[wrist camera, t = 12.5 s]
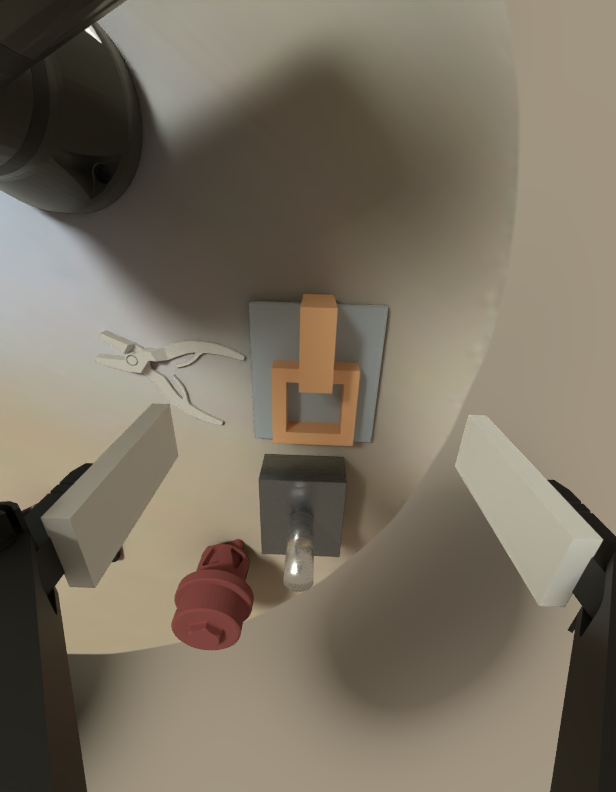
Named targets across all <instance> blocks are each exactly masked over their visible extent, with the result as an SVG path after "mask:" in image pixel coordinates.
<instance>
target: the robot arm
mask: <svg viewBox="0 0 616 792" xmlns="http://www.w3.org/2000/svg"><path fill="white" fill-rule="evenodd" d="M125 1H126V0H0V190H1V191H3V192H5V193H7V194H8V195H10V196H12V197H14V198H16V199H18V200H19V201H22V202H24V203H26V204H28V205H31V206H34V207H37V208H40V209H43V210H48V211H53V212H62V213H73V214H83V213H90V212H94V211H98V210H100V209H103V208H105V207H107V206H109V205H110V204H112V203H113V202H114V201H116V200H117V199H118V198H119V197H120V196H121V195H122V194H123V193H124V192H125V190H126V189H127V188H128V186H129V185H130V183H131V181H132V179H133V177H134V175H135V173H136V170H137V167H138V164H139V160H140V155H141V148H142V119H141V112H140V106H139V102H138V97H137V94H136V90H135V87H134V84H133V81H132V79H131V76H130V74H129V71H128V69H127V67H126V65H125V63H124V61H123V59H122V57H121V55H120V53H119V52H118V50H117V49H116V47H115V45H114V44H113V42H112V41H111V39H110V38H109V37H108V35H107V34H106V33H105V31H104V30H103V29H102V28H101V27H100V25H99V24H98V23H97V21H98V20H99V19H101V18H102V17H104V16H105V15H106V14H108V13H109V12H111V11H112V10H113V9H115V8H116V7H118V6H119V5H121V4H122V3H123V2H125ZM177 457H178V451H177V445H176V439H175V433H174V427H173V421H172V415H171V409H170V404H151V405H150V407H149V408H148V409H147V410H146V411H145V412H144V413H143V414H142V415H141V416H140V417H139V418H138V419H137V420H136V421H135V422H134V423H133V424H132V425H131V426H130V427H129V428H128V429H127V430H126V431H125V432H124V433H123V434H122V435H121V436H120V437H119V438H118V439H117V440H116V441H115V442H114V443H113V444H112V445H111V446H110V447H109V448H108V449H107V450H106V451H105V452H104V453H103V454H102V456H101V457H100V458H99V459H98V460H97V461H96V462H95V463H94V464H92V463H85V464H84V465H82V466H80V467H78V468H77V469H75V470H73V471H72V472H70V473H69V474H68V475H67V476H66V477H65V478H64V479H63V480H62V481H61V482H60V484H59V485H57V486H56V487H55V488H54V489H53V490H51V493H50V494H47V495H46V496H45V497H44V498H43V499H42V500H41V501H40V502H39V503H38V504H37V505H36V506H35V507H34V508H33V509H32V510H31V511H30V512H29V513H28V514H26V515H25V516H23V514H22V512H21V510H20V508H19V506H18V504H17V503H14V502H11V501H8V502H0V792H87V787H86V780H85V774H84V767H83V760H82V753H81V747H80V740H79V733H78V726H77V719H76V712H75V705H74V699H73V692H72V685H71V678H70V671H69V664H68V658H67V651H66V644H65V637H64V630H63V623H62V617H61V610H60V603H59V596H58V592H57V589H56V587H55V585H56V584H57V582H58V581H59V580H60V578H61V577H62V576H63V574H64V575H65V577H66V579H67V582H68V584H69V586H70V587H86V588H96V586H97V584H98V583H99V581H100V580H101V578H102V576H103V575H104V573H105V572H106V570H107V568H108V567H109V565H110V564H111V562H112V560H113V559H114V557H115V556H116V554H117V553H118V551H119V549H120V548H121V546H122V545H123V543H124V541H125V540H126V538H127V537H128V535H129V533H130V532H131V530H132V529H133V527H134V525H135V524H136V522H137V521H138V519H139V518H140V516H141V514H142V513H143V511H144V510H145V508H146V506H147V505H148V503H149V502H150V500H151V498H152V497H153V495H154V494H155V492H156V491H157V489H158V487H159V486H160V484H161V483H162V481H163V479H164V478H165V476H166V475H167V473H168V471H169V470H170V468H171V467H172V465H173V463H174V462H175V460H176V459H177ZM455 467H456V469H457V471H458V472H459V474H460V475H461V477H462V479H463V481H464V482H465V484H466V485H467V487H468V489H469V491H470V492H471V494H472V496H473V497H474V499H475V501H476V502H477V504H478V505H479V507H480V509H481V511H482V512H483V514H484V515H485V517H486V519H487V521H488V522H489V524H490V525H491V527H492V529H493V531H494V532H495V534H496V536H497V537H498V539H499V540H500V542H501V544H502V546H503V547H504V549H505V551H506V552H507V554H508V556H509V557H510V558H511V560H512V562H513V564H514V565H515V567H516V569H517V570H518V572H519V574H520V575H521V577H522V579H523V580H524V582H525V584H526V585H527V587H528V589H529V590H530V592H531V594H532V595H533V597H534V599H535V600H536V602H537V604H538V605H539V606H552V607H565V606H566V604H567V603H568V601H569V599H570V597H571V596H572V594H574V595H575V597H576V598H577V599H578V601H579V602H580V604H581V605H582V607H581V609H580V610H579V612H578V614H577V615H576V617H575V619H574V620H573V622H572V624H571V625H570V627H569V629H568V631H570V632H572V633H573V631H574V630H575V633H574V640H573V646H572V653H571V659H570V666H569V673H568V680H567V685H566V692H565V699H564V706H563V711H562V718H561V725H560V731H559V738H558V744H557V751H556V757H555V764H554V771H553V777H552V783H551V790H550V792H616V536H615V535H614V534H613V533H612V532H611V531H610V530H609V529H608V528H607V527H606V526H605V525H604V524H603V523H602V522H601V521H600V520H599V519H598V518H597V517H596V516H595V515H594V514H593V513H590V510H589V509H588V508H587V507H586V506H585V505H584V504H581V501H580V500H579V499H578V498H577V497H576V496H575V495H574V494H573V493H572V492H571V491H570V490H569V489H567V488H565V487H564V486H563V485H561V484H559V483H558V482H556V481H555V480H546V479H545V478H544V476H543V475H542V474H541V473H540V472H539V471H538V470H537V469H536V468H535V467H534V466H533V465H532V464H531V463H530V462H529V461H528V460H527V459H526V457H525V456H524V455H523V454H522V453H521V452H520V451H519V450H518V449H517V448H516V447H515V446H514V445H513V444H512V443H511V442H510V440H509V439H508V438H507V437H506V436H505V435H504V434H503V433H502V432H501V431H500V430H499V429H498V428H497V427H496V426H495V424H494V423H493V422H492V421H491V420H490V419H489V418H488V417H487V416H482V415H468V420H467V423H466V426H465V430H464V434H463V438H462V441H461V445H460V449H459V453H458V457H457V460H456V464H455Z"/></svg>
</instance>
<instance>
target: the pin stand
mask: <svg viewBox="0 0 616 792" xmlns="http://www.w3.org/2000/svg"><path fill="white" fill-rule="evenodd" d="M346 485H347V482H346V474H345V465H344V457H330V456H303V455H277V454H265V456H264V460H263V464H262V468H261V472H260V477H259V497H260V521H261V544H262V554H282V555H286V558H285V568H284V578H283V583H284V585H285V587H286V588H288V589H289V590H292V591H296V592H302V591H306V590H308V589H310V588H311V587H312V585H313V560H314V556H331V557H339V556H340V545H341V535H342V525H343V515H344V505H345V495H346Z"/></svg>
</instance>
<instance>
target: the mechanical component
mask: <svg viewBox="0 0 616 792" xmlns="http://www.w3.org/2000/svg"><path fill="white" fill-rule="evenodd" d="M243 545H244V544H243V542H242V541H241V540H234V541H233V542H231V543H229V544H218V545H213V546H209V547H207V548H206V550H205V551H204V552H203V554H202V557H201V560H200V563H199V565H198V568H197V571H196V572H193V573H191V574H189V575H187V576H186V577H184V578H183V579H182V580H181V582H180V584H179V586H178V589H177V591H176V594H175V604H176V607H177V610H176V612H175V615H174V618H173V620H172V625H171V627H172V631H173V633H174V634H175V636H176V637H177V638H178V639H179V640H181V641H182V642H184V643H186V644H187V645H189V646H191V647H194V648H198V649H203V650H220V649H224V648H228V647H230V646H232V645H234V644H235V643H236V642H237V641H238V640H239V637H240V634H241V629H242V624H243V621H245V620H246V619H247V618H248V617H249V615H250V614H251V611H252V606H253V601H254V596H253V592H252V590H251V588H250V586H249V585H248V584H247V583H246V582H245V580H246V576H247V573H248V569H249V558H248V556H247V555H246V553H244V552H243V551H242V549H243Z"/></svg>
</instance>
